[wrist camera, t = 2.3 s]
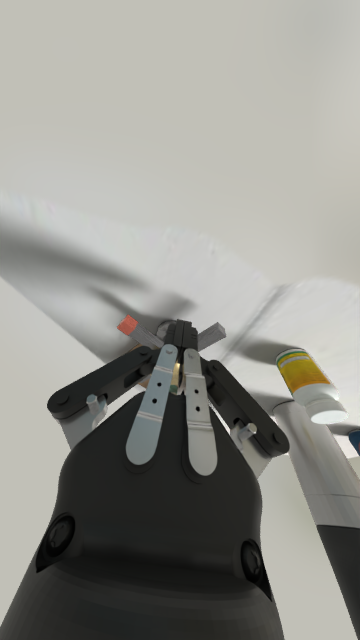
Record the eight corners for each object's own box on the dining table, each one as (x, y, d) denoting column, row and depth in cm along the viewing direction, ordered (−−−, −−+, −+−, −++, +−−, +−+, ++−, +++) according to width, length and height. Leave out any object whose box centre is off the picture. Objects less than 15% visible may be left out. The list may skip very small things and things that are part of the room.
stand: (209, 383, 33) (211, 405, 30) (178, 395, 38) (176, 416, 34) (147, 337, 27) (139, 358, 23) (118, 359, 31) (107, 379, 28)
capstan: (248, 341, 25) (263, 379, 19) (176, 376, 33) (172, 411, 27) (174, 262, 18) (164, 285, 13) (107, 330, 26) (83, 362, 21)
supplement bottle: (315, 356, 26) (366, 418, 18) (287, 370, 29) (320, 429, 21) (295, 342, 24) (340, 403, 17) (267, 359, 27) (295, 418, 20)
